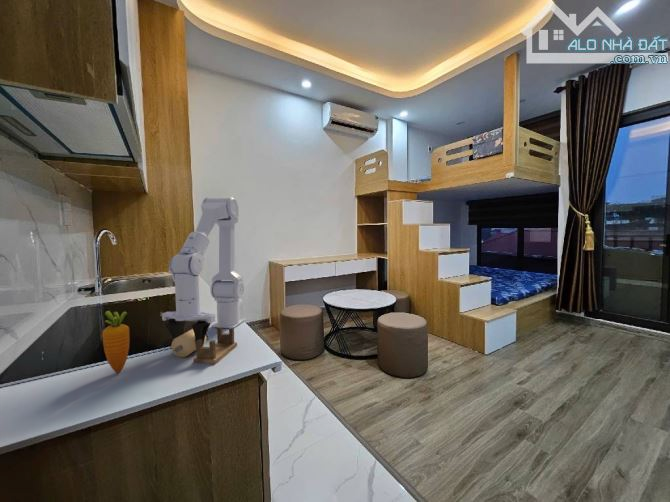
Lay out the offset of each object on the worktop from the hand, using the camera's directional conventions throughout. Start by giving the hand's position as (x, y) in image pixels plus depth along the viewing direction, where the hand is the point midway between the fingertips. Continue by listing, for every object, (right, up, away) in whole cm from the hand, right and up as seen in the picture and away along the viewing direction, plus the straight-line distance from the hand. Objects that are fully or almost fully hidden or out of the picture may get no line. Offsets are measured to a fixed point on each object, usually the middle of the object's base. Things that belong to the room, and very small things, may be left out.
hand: (189, 346), depth 77 cm
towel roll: (0, +1, 0) cm, 1 cm away
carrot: (-11, -3, -11) cm, 16 cm away
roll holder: (+8, -2, -1) cm, 8 cm away
